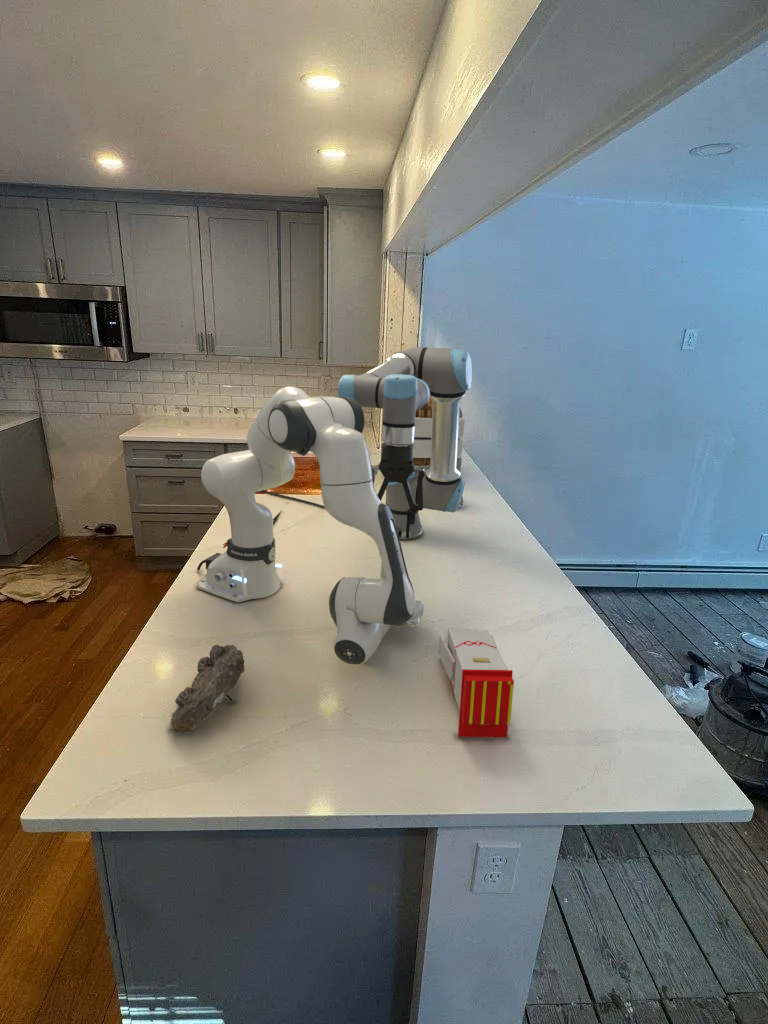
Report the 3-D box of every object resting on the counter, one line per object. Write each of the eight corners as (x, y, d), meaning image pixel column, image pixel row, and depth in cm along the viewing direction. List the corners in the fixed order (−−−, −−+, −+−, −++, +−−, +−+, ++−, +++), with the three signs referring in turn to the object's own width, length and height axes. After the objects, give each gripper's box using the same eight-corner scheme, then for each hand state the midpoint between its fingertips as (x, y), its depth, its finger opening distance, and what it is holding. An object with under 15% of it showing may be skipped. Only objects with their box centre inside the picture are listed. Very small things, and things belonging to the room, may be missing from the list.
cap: (395, 540, 137) (395, 533, 136) (380, 536, 139) (381, 529, 139) (404, 535, 140) (405, 529, 140) (390, 531, 142) (391, 524, 142)
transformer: (382, 463, 289) (386, 382, 275) (445, 464, 293) (451, 384, 279) (390, 482, 257) (394, 392, 243) (460, 483, 261) (468, 394, 247)
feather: (288, 505, 226) (290, 501, 226) (271, 529, 199) (273, 524, 199) (284, 503, 226) (287, 499, 225) (266, 526, 199) (269, 522, 199)
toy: (488, 613, 130) (523, 677, 101) (484, 667, 133) (517, 744, 104) (435, 612, 130) (455, 676, 101) (432, 666, 133) (451, 743, 103)
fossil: (195, 646, 122) (244, 615, 117) (225, 676, 125) (275, 646, 120) (147, 725, 102) (204, 691, 98) (185, 758, 105) (242, 726, 100)
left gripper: (416, 614, 129) (430, 588, 142) (334, 597, 135) (354, 574, 148) (415, 638, 132) (429, 610, 144) (333, 621, 137) (353, 595, 150)
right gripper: (439, 442, 135) (432, 531, 143) (357, 437, 136) (355, 526, 144) (439, 449, 128) (432, 543, 136) (354, 444, 129) (351, 538, 137)
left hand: (390, 591), depth 146 cm, fingers closed on bottle, 5 cm apart
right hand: (392, 534), depth 140 cm, fingers open, 6 cm apart
